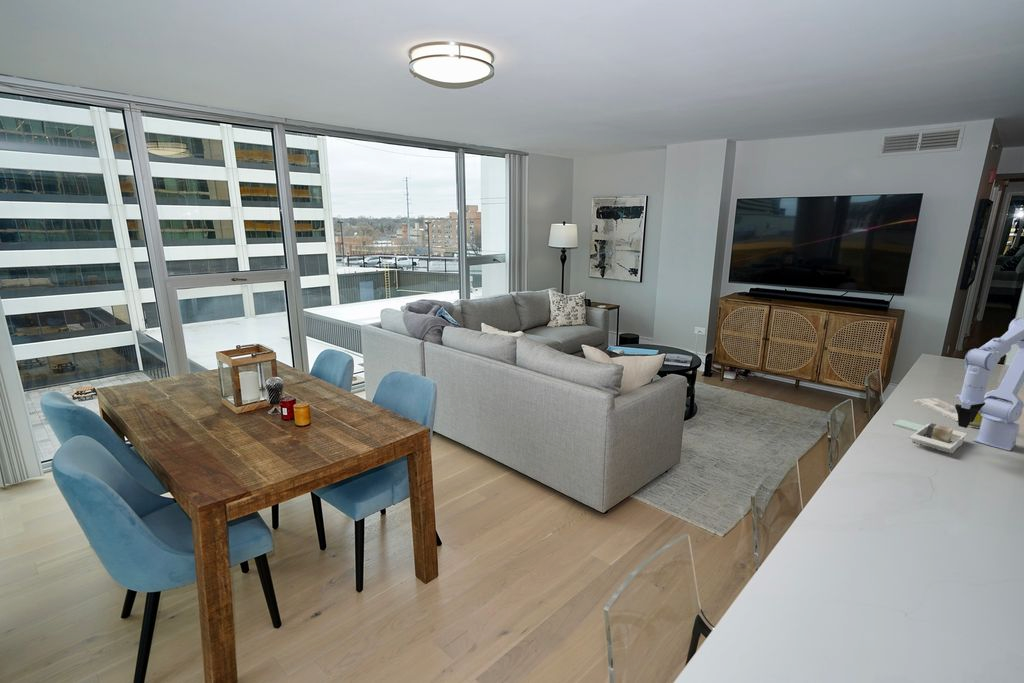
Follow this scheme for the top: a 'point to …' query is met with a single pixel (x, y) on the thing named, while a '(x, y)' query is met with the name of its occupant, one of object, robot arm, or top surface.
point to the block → (939, 433)
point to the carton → (943, 446)
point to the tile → (908, 425)
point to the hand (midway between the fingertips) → (965, 424)
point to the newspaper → (939, 407)
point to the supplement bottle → (976, 421)
